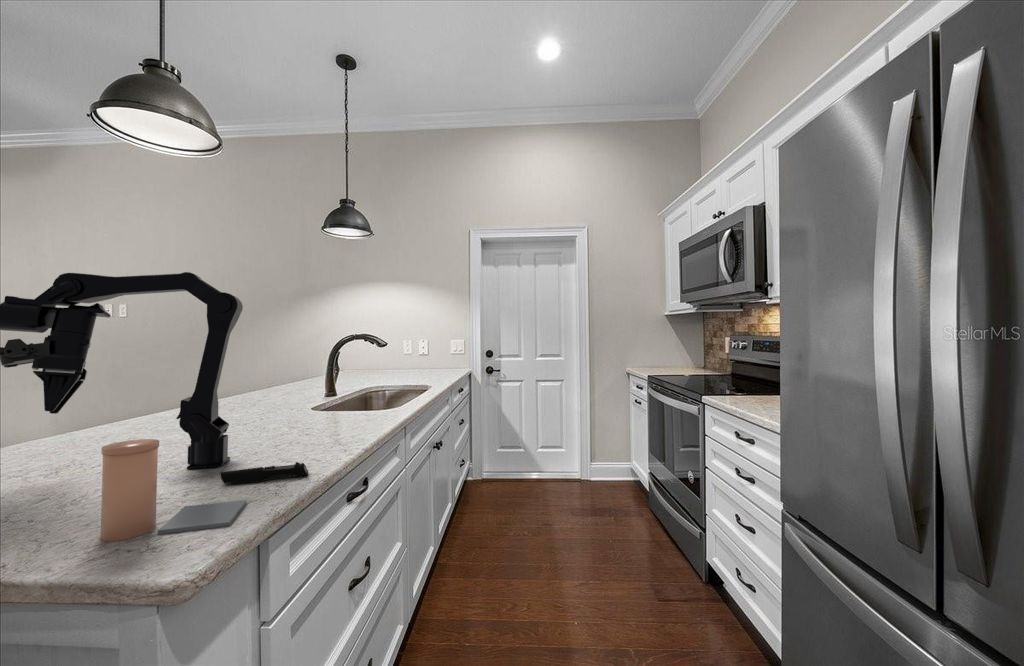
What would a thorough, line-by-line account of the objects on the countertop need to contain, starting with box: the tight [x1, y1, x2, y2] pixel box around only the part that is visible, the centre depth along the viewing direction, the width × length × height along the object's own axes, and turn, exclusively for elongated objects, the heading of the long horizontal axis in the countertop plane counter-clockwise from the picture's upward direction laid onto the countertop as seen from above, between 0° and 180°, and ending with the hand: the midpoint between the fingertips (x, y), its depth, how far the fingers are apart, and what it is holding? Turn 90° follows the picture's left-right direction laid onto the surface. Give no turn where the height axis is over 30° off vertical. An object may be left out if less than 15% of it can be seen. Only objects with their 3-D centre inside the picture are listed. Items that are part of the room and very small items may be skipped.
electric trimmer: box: [219, 461, 309, 484], centre depth 83 cm, size 4×16×3 cm, turn 115°
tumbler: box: [100, 438, 160, 542], centre depth 60 cm, size 6×6×13 cm
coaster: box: [157, 499, 248, 535], centre depth 65 cm, size 9×9×1 cm
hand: (51, 412), depth 78 cm, fingers open, 9 cm apart
